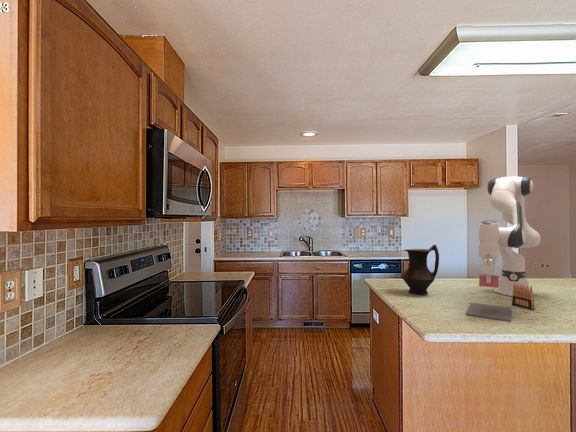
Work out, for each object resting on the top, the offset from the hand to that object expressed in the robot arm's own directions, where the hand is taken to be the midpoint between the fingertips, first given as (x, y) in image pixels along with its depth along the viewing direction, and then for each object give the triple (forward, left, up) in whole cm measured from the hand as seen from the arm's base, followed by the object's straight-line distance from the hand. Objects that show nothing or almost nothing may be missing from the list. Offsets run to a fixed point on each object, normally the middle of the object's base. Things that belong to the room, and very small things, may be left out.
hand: (489, 281), depth 168 cm
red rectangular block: (0, 0, -2) cm, 2 cm away
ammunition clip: (-19, +14, -15) cm, 28 cm away
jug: (-21, -37, -15) cm, 45 cm away
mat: (0, 0, -15) cm, 15 cm away
